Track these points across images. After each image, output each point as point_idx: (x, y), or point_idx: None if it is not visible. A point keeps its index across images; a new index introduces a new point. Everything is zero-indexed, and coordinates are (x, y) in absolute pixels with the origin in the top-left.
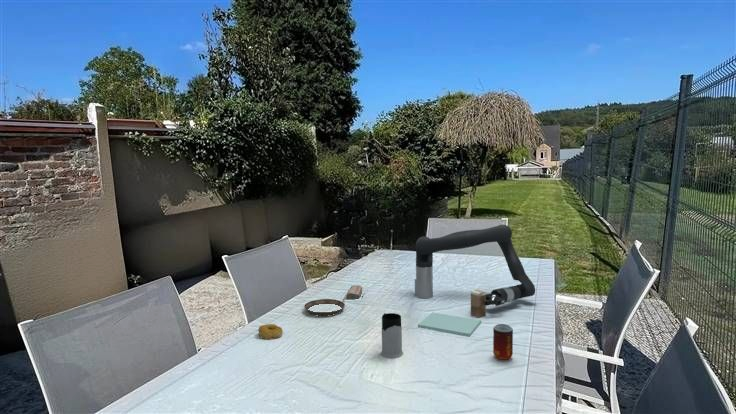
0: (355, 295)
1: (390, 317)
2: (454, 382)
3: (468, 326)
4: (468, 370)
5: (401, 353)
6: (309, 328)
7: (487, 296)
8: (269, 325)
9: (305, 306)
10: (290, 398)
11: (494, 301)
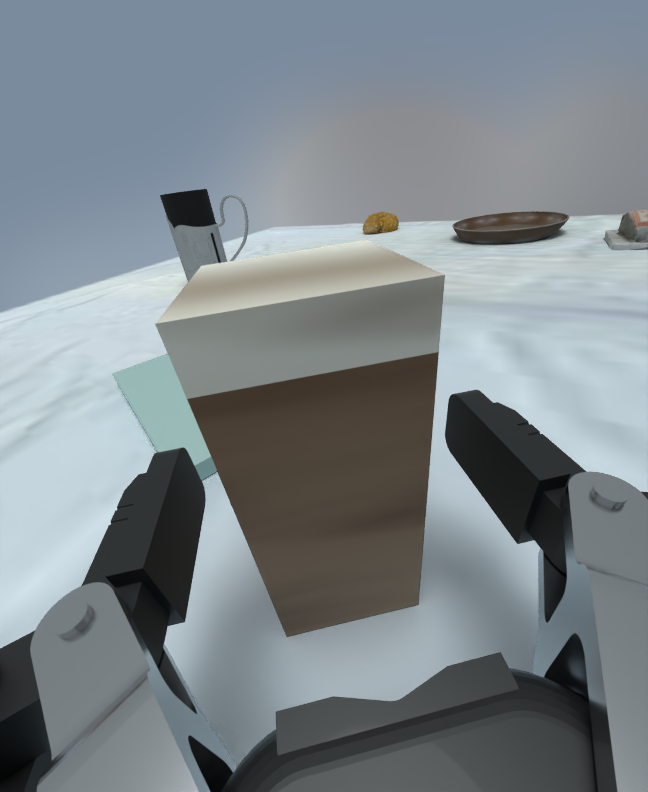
0: (630, 224)
1: (205, 201)
2: (27, 321)
3: (170, 390)
4: (14, 339)
5: None
6: (394, 239)
7: (459, 706)
8: (388, 215)
9: (504, 216)
10: None
11: (20, 645)
